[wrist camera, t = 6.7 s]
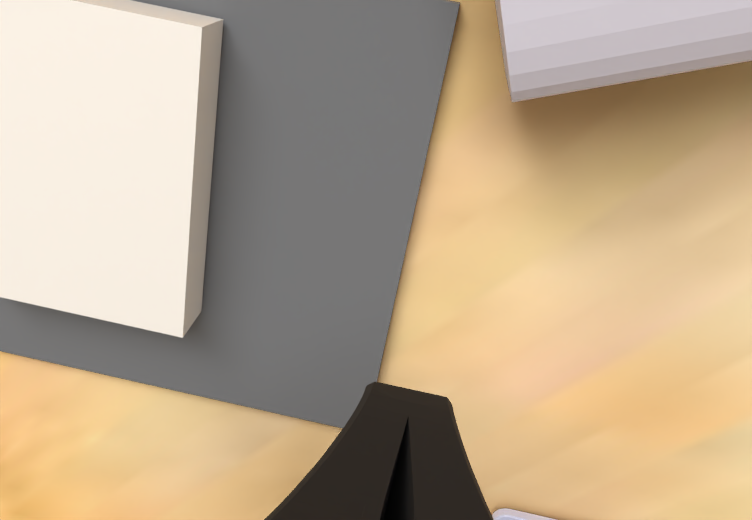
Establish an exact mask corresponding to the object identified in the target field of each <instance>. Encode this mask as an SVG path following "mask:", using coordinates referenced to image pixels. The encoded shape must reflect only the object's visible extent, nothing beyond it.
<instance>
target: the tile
mask: <svg viewBox="0 0 752 520" xmlns="http://www.w3.org/2000/svg"><path fill="white" fill-rule="evenodd" d="M222 31H223V19H219V18H215V17H210V16H205V15H200V14H195V13H190V12H186V11H181V10H176V9H171V8H166V7H161V6H156V5H152V4H147V3H142V2H137V1H132V0H0V297H2V298H6V299H11V300H15V301H20V302H24V303H29V304H33V305H38V306H42V307H47V308H51V309H56V310H60V311H65V312H69V313H74V314H78V315H83V316H87V317H92V318H96V319H101V320H105V321H110V322H114V323H119V324H123V325H128V326H132V327H137V328H141V329H145V330H150V331H154V332H159V333H163V334H168V335H172V336H177V337H181V338H183V337H184V335H185V334H186V332H187V331H188V330H189V328H190V327H191V325H192V324H193V322H194V321H195V320H196V318H197V317H198V315H199V314H200V313H201V310H202V297H203V283H204V270H205V257H206V244H207V230H208V217H209V204H210V191H211V177H212V164H213V151H214V137H215V124H216V111H217V98H218V84H219V71H220V58H221V45H222Z"/></svg>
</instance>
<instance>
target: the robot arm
mask: <svg viewBox="0 0 752 520" xmlns="http://www.w3.org/2000/svg"><path fill="white" fill-rule="evenodd" d="M264 520H556V519H552V518H548V517H543V516H539V515H535V514H530V513H526V512H521V511H517V510H513V509H506V508H503V509H498V510H497V511H495V512H494V513H493V514H492V515H491V513H490V511H489V509H488V506H487V504H486V502H485V500H484V497H483V495H482V492H481V490H480V488H479V485H478V483H477V480H476V478H475V475H474V473H473V471H472V468H471V465H470V463H469V460H468V457H467V454H466V451H465V449H464V446H463V443H462V440H461V437H460V433H459V430H458V427H457V423H456V420H455V416H454V412H453V407H452V404H451V402H450V401H449V399H448V398H447V397H443V396H439V395H434V394H429V393H425V392H420V391H416V390H411V389H406V388H402V387H397V386H392V385H388V384H383V383H379V382H373V383H371V384H369V385H367V386H366V388H365V391H364V394H363V396H362V398H361V400H360V402H359V404H358V406H357V407H356V409H355V411H354V412H353V414H352V416H351V417H350V419H349V420H348V422H347V423H346V425H345V426H344V428H343V429H342V431H341V432H340V434H339V435H338V436H337V438H336V439H335V440H334V442H333V443H332V444H331V446H330V447H329V448H328V450H327V451H326V452H325V454H324V455H323V456H322V457H321V459H320V460H319V461H318V462H317V464H316V465H315V466H314V467H313V468H312V469H311V470H310V472H309V473H308V474H307V475H306V476H305V477H304V478H303V480H302V481H301V482H300V483H299V484H298V485H297V486H296V488H295V489H294V490H293V491H292V492H291V493H290V494H289V495H288V496H287V497H286V498H285V499H284V501H283V502H282V503H281V504H280V505H279V506H278V507H277V508H276V509H275V510H274V511H273V512H272V513H271V514H270V515H269V516H268V517H267V518H265V519H264Z"/></svg>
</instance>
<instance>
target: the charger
mask: <svg viewBox="0 0 752 520" xmlns="http://www.w3.org/2000/svg"><path fill="white" fill-rule="evenodd" d="M495 5H496V12H497V19H498V26H499V33H500V40H501V47H502V53H503V60H504V67H505V74H506V79H507V83H508V88H509V92H510V96H511V101H512V102H518V101H524V100H529V99H535V98H541V97H547V96H552V95H558V94H564V93H570V92H575V91H581V90H587V89H593V88H598V87H604V86H610V85H616V84H621V83H627V82H633V81H639V80H644V79H650V78H656V77H662V76H667V75H673V74H679V73H685V72H690V71H696V70H702V69H708V68H713V67H719V66H725V65H731V64H736V63H742V62H748V61H752V0H495Z"/></svg>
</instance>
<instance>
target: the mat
mask: <svg viewBox="0 0 752 520" xmlns="http://www.w3.org/2000/svg"><path fill="white" fill-rule="evenodd" d="M132 1H137V2H142V3H147V4H152V5H156V6H161V7H166V8H171V9H176V10H181V11H186V12H190V13H195V14H200V15H205V16H210V17H215V18H219V19H223V31H222V45H221V58H220V71H219V84H218V98H217V111H216V124H215V137H214V151H213V164H212V177H211V191H210V204H209V217H208V230H207V244H206V257H205V270H204V283H203V297H202V310H201V313H200V314H199V315H198V317H197V318H196V320H195V321H194V322H193V324H192V325H191V327H190V328H189V330H188V331H187V332H186V334H185V335H184V337H183V338H181V337H177V336H172V335H168V334H163V333H159V332H154V331H150V330H145V329H141V328H137V327H132V326H128V325H123V324H119V323H114V322H110V321H105V320H101V319H96V318H92V317H87V316H83V315H78V314H74V313H69V312H65V311H60V310H56V309H51V308H47V307H42V306H38V305H33V304H29V303H24V302H20V301H15V300H11V299H6V298H2V297H0V351H2V352H7V353H11V354H16V355H20V356H24V357H29V358H33V359H38V360H42V361H47V362H51V363H55V364H60V365H64V366H69V367H73V368H78V369H82V370H86V371H91V372H95V373H100V374H104V375H109V376H113V377H118V378H122V379H126V380H131V381H135V382H140V383H144V384H149V385H153V386H157V387H162V388H166V389H171V390H175V391H180V392H184V393H188V394H193V395H197V396H202V397H206V398H211V399H215V400H219V401H224V402H228V403H233V404H237V405H242V406H246V407H251V408H255V409H259V410H264V411H268V412H273V413H277V414H282V415H286V416H290V417H295V418H299V419H304V420H308V421H313V422H317V423H321V424H326V425H330V426H335V427H339V428H344V426H345V425H346V423H347V422H348V420H349V419H350V417H351V416H352V414H353V412H354V411H355V409H356V407H357V406H358V404H359V402H360V400H361V398H362V396H363V394H364V391H365V388H366V386H367V385H369V384H371V383H373V382H377V379H378V374H379V370H380V365H381V360H382V356H383V351H384V347H385V342H386V338H387V333H388V329H389V324H390V319H391V315H392V310H393V306H394V301H395V297H396V292H397V288H398V283H399V278H400V274H401V269H402V265H403V260H404V256H405V251H406V247H407V242H408V237H409V233H410V228H411V224H412V219H413V215H414V210H415V206H416V201H417V196H418V192H419V187H420V183H421V178H422V174H423V169H424V165H425V160H426V155H427V151H428V146H429V142H430V137H431V133H432V128H433V124H434V119H435V114H436V110H437V105H438V101H439V96H440V92H441V87H442V82H443V78H444V73H445V69H446V64H447V60H448V55H449V51H450V46H451V41H452V37H453V32H454V28H455V23H456V19H457V14H458V10H459V5H460V2H455V1H450V0H132Z"/></svg>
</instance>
